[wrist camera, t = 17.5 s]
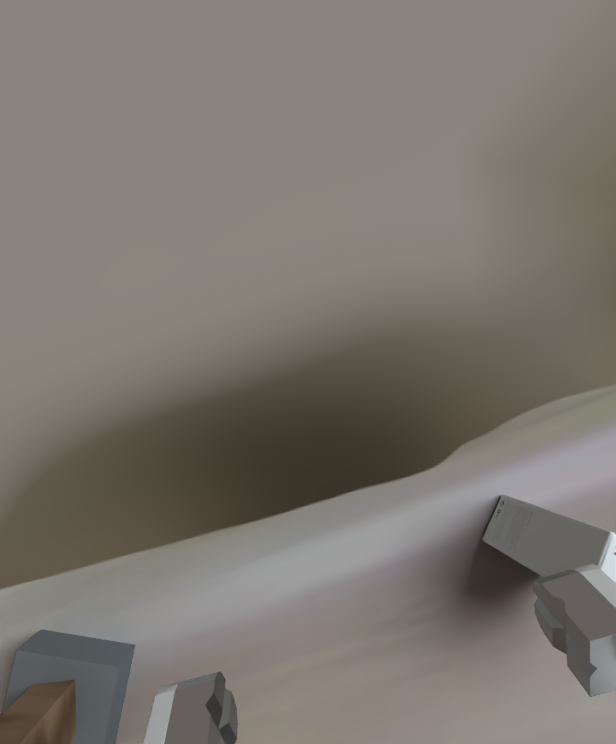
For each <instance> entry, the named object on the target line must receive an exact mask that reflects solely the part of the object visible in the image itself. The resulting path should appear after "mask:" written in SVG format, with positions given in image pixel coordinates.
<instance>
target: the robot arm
mask: <svg viewBox="0 0 616 744" xmlns="http://www.w3.org/2000/svg"><path fill="white" fill-rule="evenodd" d="M533 591H534V593H535V594H536V595H537V597H538V599H537V600H536V602H535V603H534V607H535V615H536V617H537V620H538V622H539V625H540V627H541V629H542V630H543V632H544V634H545V636H546V637H547V638H548V640H549V641H550V643H551V644H552V645H553V647H555V648H557V649H558V650H560V651H562V652H563V653H565V654H567V666H568V667H569V669H570V670H571V671H572V673H573V674H574V676H575V677H576V678H577V680H578V681H579V682H580V684H581V685H582V686H583V688H584V689H585V690H586V692H587V693H588V695H589V696H590V697H592V696H596V695H600V694H604V693H608V692H612V691H616V583H615V582H614V581H613V580H612V579H611V578H610V577H609V576H608V575H607V574H606V573H604V572H603V571H602V570H601V569H600V568H599V567H598V566H596V565H594V564H588V565H585V566H582V567H579V568H575V569H572V570H571V569H569V570H566V571H563V572H559V573H556V574H553V575H550V576H547V577H543V578H540V579H537V580H535V581H534V582H533ZM225 681H226V680H225V678H224V676H223V674H222V672H221V671H220V672H217V673H213V674H209V675H205V676H202V677H198V678H194V679H190V680H187V681H183V682H178V683H175V684H171V685H168V686H165V687H161V688H159V690H158V692H157V694H156V696H155V697H154V701H153V705H152V709H151V713H150V717H149V721H148V725H147V729H146V732H145V736H144V740H143V744H235V742H236V740H237V728H238V721H237V708H236V704H235V700H234V697H233V695H232V693H231V691H229V690H226V689H225Z"/></svg>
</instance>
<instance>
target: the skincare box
mask: <svg viewBox="0 0 616 744" xmlns="http://www.w3.org/2000/svg"><path fill="white" fill-rule="evenodd" d="M482 540H483V541H484V542H485V543H487V544H489V545H490V546H492V547H494V548H495V549H497V550H499V551H500V552H502V553H504V554H505V555H507V556H509V557H510V558H512V559H513V560H515V561H517V562H518V563H520V564H522V565H523V566H525V567H527V568H528V569H530V570H532V571H533V572H535V573H537V574H538V575H540V576H542V577H547V576H550V575H553V574H556V573H559V572H563V571H566V570H569V569H571V570H572V569H575V568H579V567H582V566H585V565H588V564H594V565H596V566H598V567H599V568H600V569H601V570H602V571H603V572H604V573H606V574H607V575H608V576H609V577H610V578H611V579H612V580H613V581H614V582H615V583H616V534H615V533H613V532H611V531H608V530H605V529H603V528H600V527H597V526H594V525H591V524H588V523H585V522H582V521H579V520H576V519H573V518H571V517H568V516H565V515H562V514H559V513H556V512H553V511H550V510H547V509H544V508H541V507H539V506H536V505H533V504H530V503H527V502H524V501H521V500H518V499H515V498H512V497H509V496H506V495H502V496H501V498H500V501H499V503H498V505H497V508H496V510H495V512H494V514H493V516H492V518H491V520H490V522H489V524H488V527H487V529H486V531H485V533H484V535H483V538H482Z"/></svg>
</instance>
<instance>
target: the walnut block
mask: <svg viewBox="0 0 616 744" xmlns="http://www.w3.org/2000/svg"><path fill="white" fill-rule="evenodd" d="M75 738H76V695H75V680H67V681H59V682H50V683H41V684H33V685H32V686H31V687H30V688H29V689H28V690H27V691H26V692H25V693H24V694H23V695H22V696H21V697H20V698H19V699H18V700H16V701H15V702H14V703H13V704H12V705H11V706H10V707H9V708H8V709H7V710H6V711H5V712H4V713H3V714H2V715H1V716H0V744H72V743H73V741H74V740H75Z"/></svg>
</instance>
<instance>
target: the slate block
mask: <svg viewBox="0 0 616 744" xmlns="http://www.w3.org/2000/svg"><path fill="white" fill-rule="evenodd" d="M134 648H135V645H133V644H126V643H120V642H114V641H108V640H102V639H96V638H90V637H84V636H77V635H71V634H65V633H59V632H53V631H47V630H41V631H40V632H38V633H37V634H36V635H35V636H33V637H32V638H31V639H30V640H29V641H27V642H26V643H25V644H24V645H23V646H21V647H20V648H19V649H18V650H17V651H16V655H15V659H14V663H13V668H12V672H11V676H10V680H9V684H8V688H7V693H6V697H5V701H4V705H3V709H2V714H3V713H4V712H5V711H6V710H7V709H8V708H9V707H10V706H11V705H12V704H13V703H14V702H15V701H16V700H18V699H19V698H20V697H21V696H22V695H23V694H24V693H25V692H26V691H27V690H28V689H29V688H30V687H31V686H32V685H33V684H41V683H50V682H59V681H67V680H75V695H76V738H75V740H74V741H73V743H72V744H115V741H116V736H117V731H118V727H119V722H120V717H121V712H122V707H123V702H124V697H125V692H126V687H127V682H128V678H129V673H130V668H131V663H132V658H133V653H134ZM2 714H1V715H2Z"/></svg>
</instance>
